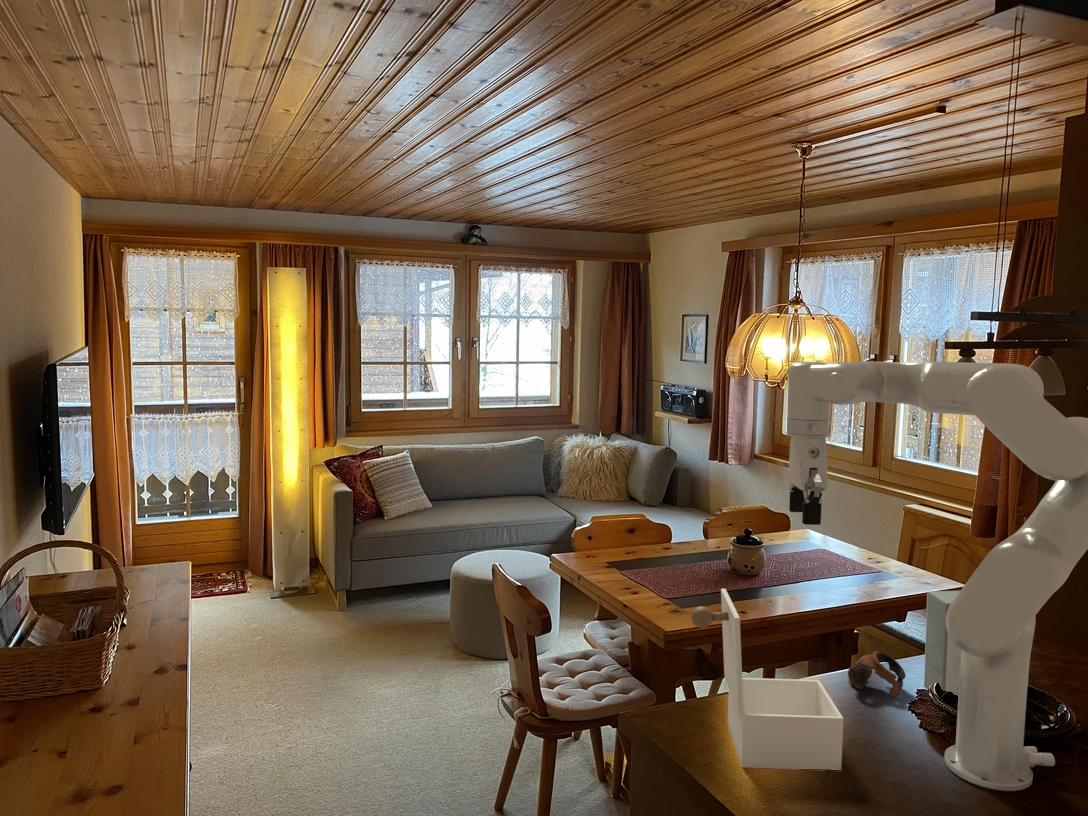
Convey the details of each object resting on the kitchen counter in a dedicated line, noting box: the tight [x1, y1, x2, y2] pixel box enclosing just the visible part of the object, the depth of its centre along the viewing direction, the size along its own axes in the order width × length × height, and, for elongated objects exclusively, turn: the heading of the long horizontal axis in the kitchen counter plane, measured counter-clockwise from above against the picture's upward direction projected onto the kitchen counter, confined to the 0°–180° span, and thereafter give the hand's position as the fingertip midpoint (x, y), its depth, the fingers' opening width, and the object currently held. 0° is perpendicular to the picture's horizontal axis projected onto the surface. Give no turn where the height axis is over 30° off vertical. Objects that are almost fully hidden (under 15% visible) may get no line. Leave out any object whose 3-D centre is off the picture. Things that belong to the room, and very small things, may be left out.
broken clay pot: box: [847, 650, 906, 698], centre depth 157 cm, size 12×10×8 cm
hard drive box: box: [923, 590, 962, 696], centre depth 155 cm, size 16×8×20 cm, turn 92°
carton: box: [727, 677, 844, 771], centre depth 135 cm, size 16×14×9 cm
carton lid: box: [690, 588, 744, 715], centre depth 135 cm, size 16×14×7 cm
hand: (804, 517), depth 149 cm, fingers open, 9 cm apart
